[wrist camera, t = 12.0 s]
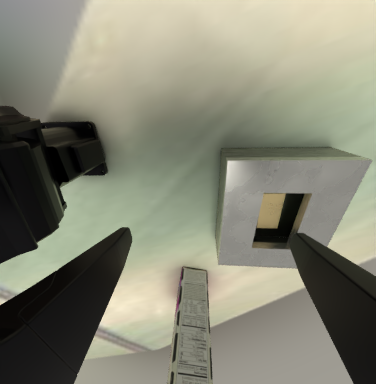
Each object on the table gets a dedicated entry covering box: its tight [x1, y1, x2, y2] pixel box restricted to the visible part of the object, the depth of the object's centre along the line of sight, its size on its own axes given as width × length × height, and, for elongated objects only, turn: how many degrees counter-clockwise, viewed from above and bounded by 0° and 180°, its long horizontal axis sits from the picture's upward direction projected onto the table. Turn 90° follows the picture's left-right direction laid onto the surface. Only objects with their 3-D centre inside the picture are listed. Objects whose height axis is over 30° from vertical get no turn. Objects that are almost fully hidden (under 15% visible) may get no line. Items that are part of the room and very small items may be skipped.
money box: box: [215, 147, 372, 268], centre depth 19 cm, size 12×14×5 cm
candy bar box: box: [167, 267, 213, 384], centre depth 24 cm, size 11×5×16 cm, turn 173°
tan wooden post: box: [256, 193, 286, 228], centre depth 20 cm, size 2×5×3 cm, turn 4°
